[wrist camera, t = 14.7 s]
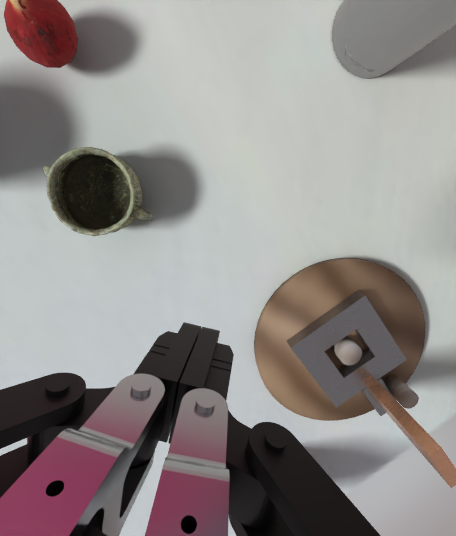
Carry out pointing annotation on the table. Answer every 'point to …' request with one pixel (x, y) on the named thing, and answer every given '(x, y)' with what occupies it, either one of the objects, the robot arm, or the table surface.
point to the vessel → (94, 191)
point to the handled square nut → (364, 370)
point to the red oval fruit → (42, 31)
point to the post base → (313, 306)
